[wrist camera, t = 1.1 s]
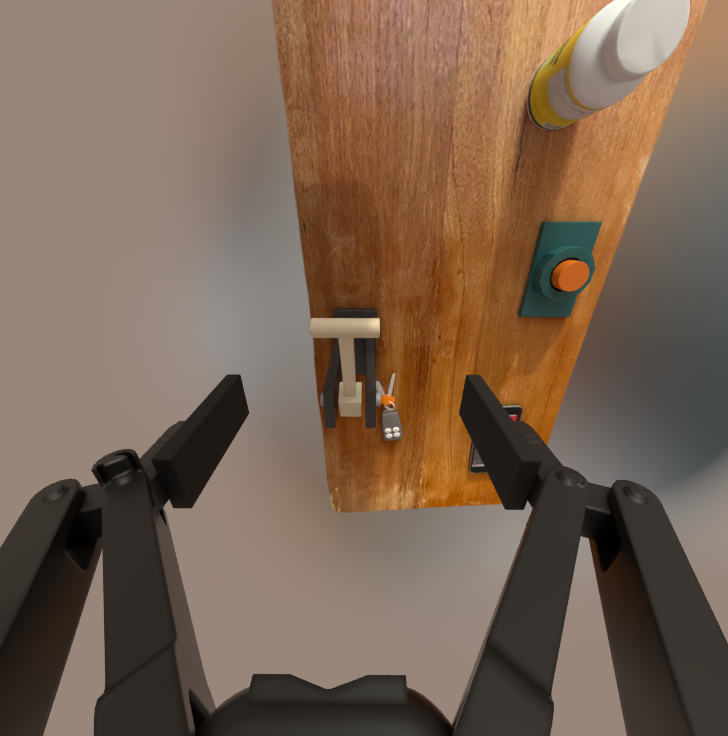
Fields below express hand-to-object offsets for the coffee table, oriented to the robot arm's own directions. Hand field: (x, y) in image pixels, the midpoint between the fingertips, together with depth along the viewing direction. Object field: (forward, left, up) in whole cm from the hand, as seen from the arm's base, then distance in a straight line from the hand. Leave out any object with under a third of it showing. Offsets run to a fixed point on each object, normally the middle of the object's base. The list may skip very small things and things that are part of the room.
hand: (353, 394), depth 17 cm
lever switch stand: (+7, -1, -26) cm, 27 cm away
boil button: (-3, +26, -24) cm, 36 cm away
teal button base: (-3, +26, -26) cm, 37 cm away
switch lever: (+2, -1, -9) cm, 9 cm away
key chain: (+19, +5, -26) cm, 33 cm away
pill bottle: (-21, +21, -26) cm, 39 cm away
